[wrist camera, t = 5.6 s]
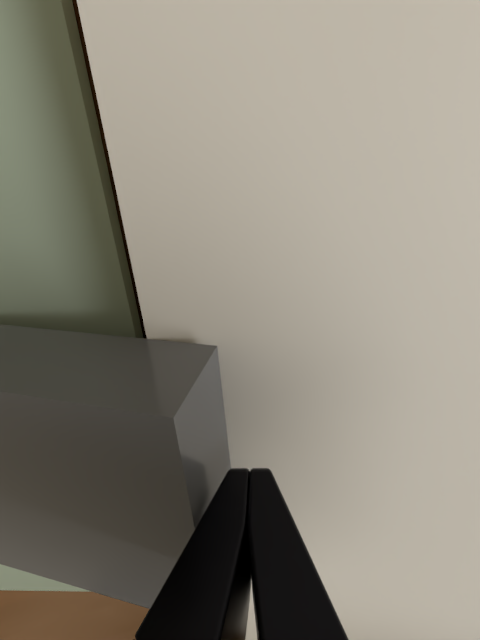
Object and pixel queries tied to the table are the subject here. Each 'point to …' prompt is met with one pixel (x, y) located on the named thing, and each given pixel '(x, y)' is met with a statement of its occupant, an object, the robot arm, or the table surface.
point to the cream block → (320, 267)
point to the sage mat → (55, 196)
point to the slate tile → (106, 456)
